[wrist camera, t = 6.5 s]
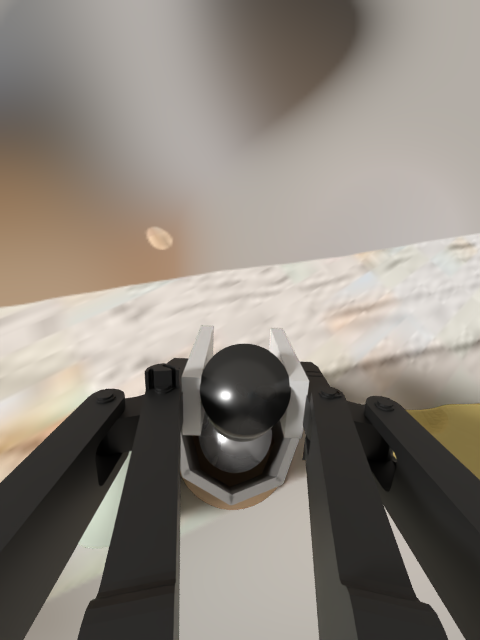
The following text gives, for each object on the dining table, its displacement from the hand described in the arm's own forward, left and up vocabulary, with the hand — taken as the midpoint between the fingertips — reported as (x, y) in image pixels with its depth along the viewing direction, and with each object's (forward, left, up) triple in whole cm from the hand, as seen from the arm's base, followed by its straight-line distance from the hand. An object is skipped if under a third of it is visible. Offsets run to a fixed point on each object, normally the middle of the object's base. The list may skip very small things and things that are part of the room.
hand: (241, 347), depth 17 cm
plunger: (+3, +2, -11) cm, 11 cm away
